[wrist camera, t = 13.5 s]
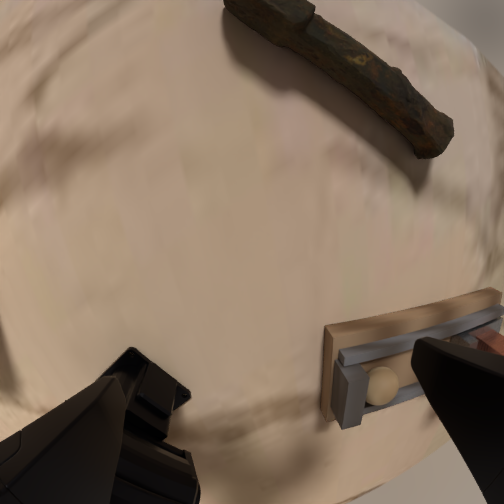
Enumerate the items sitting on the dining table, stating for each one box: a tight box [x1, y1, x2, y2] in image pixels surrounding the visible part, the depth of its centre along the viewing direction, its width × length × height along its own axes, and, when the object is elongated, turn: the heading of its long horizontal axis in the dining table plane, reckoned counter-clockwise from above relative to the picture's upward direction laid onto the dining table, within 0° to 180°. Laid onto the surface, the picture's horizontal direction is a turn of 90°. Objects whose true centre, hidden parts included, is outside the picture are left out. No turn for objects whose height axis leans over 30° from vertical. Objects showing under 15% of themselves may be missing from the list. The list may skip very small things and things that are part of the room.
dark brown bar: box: [223, 0, 454, 159], centre depth 16 cm, size 19×4×5 cm, turn 56°
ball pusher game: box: [320, 287, 504, 430], centre depth 21 cm, size 20×9×5 cm, turn 94°
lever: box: [451, 317, 504, 356], centre depth 18 cm, size 7×4×9 cm, turn 94°
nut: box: [366, 367, 399, 406], centre depth 20 cm, size 3×3×3 cm
